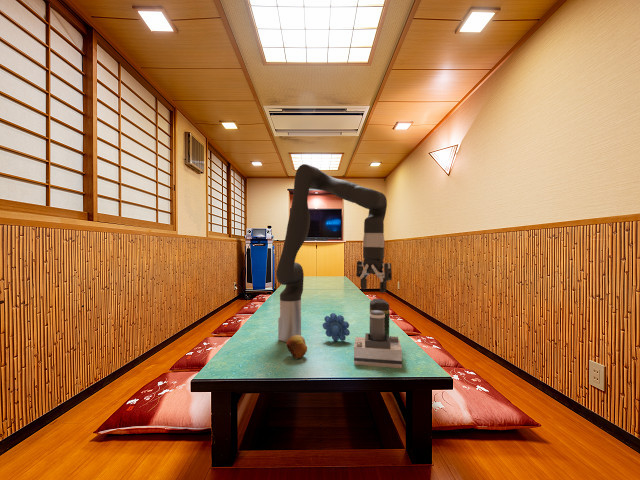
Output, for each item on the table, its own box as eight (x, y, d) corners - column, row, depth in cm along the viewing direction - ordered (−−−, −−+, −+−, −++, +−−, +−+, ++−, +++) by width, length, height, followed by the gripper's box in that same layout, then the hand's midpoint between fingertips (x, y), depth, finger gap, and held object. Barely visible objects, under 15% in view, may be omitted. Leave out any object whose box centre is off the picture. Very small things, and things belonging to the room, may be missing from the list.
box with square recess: (353, 364, 100) (353, 341, 100) (355, 352, 110) (355, 331, 110) (401, 368, 97) (401, 344, 97) (399, 355, 107) (399, 334, 108)
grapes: (321, 344, 120) (321, 315, 120) (323, 338, 126) (323, 311, 126) (349, 345, 118) (349, 315, 119) (349, 339, 125) (349, 312, 125)
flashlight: (380, 346, 100) (380, 314, 100) (367, 343, 103) (366, 311, 103) (387, 342, 104) (387, 311, 104) (374, 339, 107) (374, 309, 107)
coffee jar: (391, 349, 114) (390, 302, 114) (370, 348, 115) (370, 301, 115) (387, 341, 124) (387, 297, 124) (368, 340, 124) (368, 297, 124)
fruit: (300, 363, 101) (300, 340, 101) (281, 358, 105) (281, 336, 105) (311, 356, 107) (311, 334, 107) (293, 351, 111) (293, 331, 111)
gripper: (352, 245, 107) (351, 289, 107) (383, 246, 97) (382, 294, 97) (365, 245, 112) (364, 287, 112) (396, 246, 102) (395, 292, 102)
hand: (373, 290), depth 104 cm, fingers open, 8 cm apart
